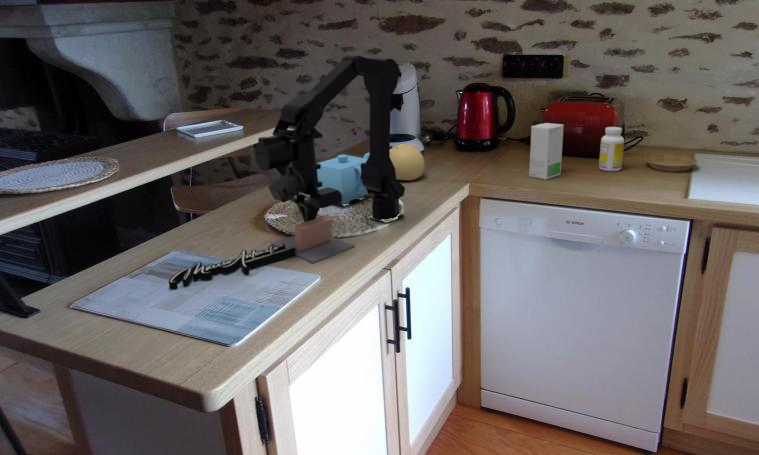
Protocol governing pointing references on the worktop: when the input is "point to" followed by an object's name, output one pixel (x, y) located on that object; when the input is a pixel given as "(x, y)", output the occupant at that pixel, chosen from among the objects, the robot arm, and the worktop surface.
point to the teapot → (343, 176)
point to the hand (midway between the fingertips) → (309, 226)
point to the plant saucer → (670, 162)
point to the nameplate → (231, 265)
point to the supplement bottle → (611, 150)
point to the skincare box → (546, 150)
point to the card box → (312, 232)
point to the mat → (317, 249)
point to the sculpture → (407, 161)
